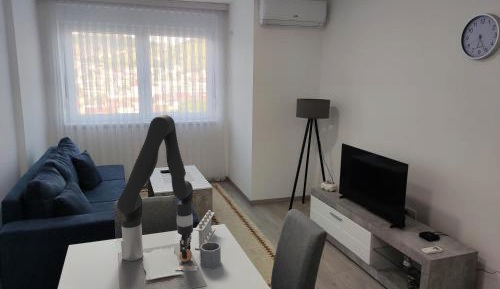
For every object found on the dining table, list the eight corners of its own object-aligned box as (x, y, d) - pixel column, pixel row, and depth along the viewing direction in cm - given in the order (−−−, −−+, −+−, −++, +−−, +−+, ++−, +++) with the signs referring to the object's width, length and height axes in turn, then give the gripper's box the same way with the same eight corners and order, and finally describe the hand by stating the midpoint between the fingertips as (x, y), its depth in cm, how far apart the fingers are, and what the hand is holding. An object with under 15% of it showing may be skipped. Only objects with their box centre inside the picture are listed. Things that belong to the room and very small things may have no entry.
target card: (175, 270, 161) (175, 269, 161) (177, 266, 165) (177, 265, 165) (196, 271, 161) (196, 270, 161) (198, 266, 165) (198, 265, 164)
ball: (178, 264, 167) (177, 252, 166) (181, 257, 173) (180, 246, 172) (190, 264, 167) (190, 252, 166) (193, 258, 173) (192, 246, 171)
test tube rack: (203, 250, 181) (202, 226, 178) (195, 249, 181) (194, 225, 179) (215, 229, 205) (214, 208, 203) (207, 229, 206) (207, 208, 203)
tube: (199, 268, 163) (199, 250, 161) (202, 258, 172) (202, 241, 170) (219, 269, 163) (218, 251, 161) (221, 259, 172) (221, 242, 170)
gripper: (180, 216, 173) (182, 247, 176) (173, 229, 159) (175, 261, 162) (195, 216, 173) (196, 247, 176) (189, 229, 159) (191, 261, 162)
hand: (186, 254), depth 169 cm, fingers open, 8 cm apart
